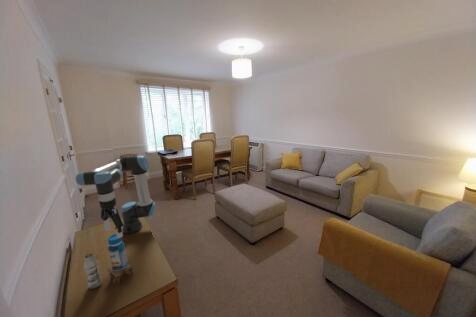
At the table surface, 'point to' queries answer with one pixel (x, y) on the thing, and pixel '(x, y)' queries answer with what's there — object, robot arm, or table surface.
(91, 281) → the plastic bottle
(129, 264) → the brown piece
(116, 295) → the table surface
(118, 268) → the blue lidded jar
